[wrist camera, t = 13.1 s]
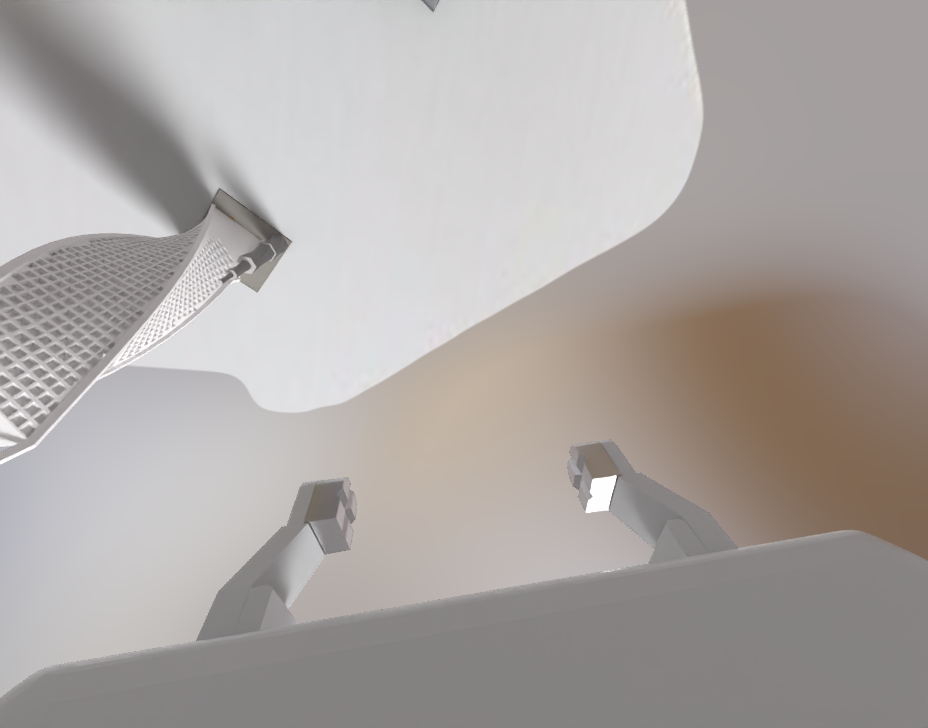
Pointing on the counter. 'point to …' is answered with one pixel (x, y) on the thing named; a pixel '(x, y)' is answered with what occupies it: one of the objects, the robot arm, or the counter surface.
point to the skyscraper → (112, 307)
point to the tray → (431, 4)
